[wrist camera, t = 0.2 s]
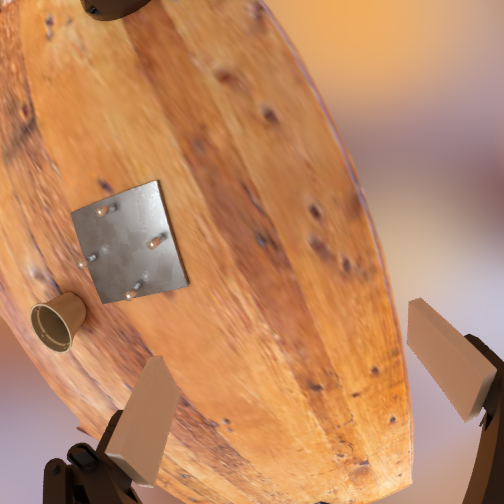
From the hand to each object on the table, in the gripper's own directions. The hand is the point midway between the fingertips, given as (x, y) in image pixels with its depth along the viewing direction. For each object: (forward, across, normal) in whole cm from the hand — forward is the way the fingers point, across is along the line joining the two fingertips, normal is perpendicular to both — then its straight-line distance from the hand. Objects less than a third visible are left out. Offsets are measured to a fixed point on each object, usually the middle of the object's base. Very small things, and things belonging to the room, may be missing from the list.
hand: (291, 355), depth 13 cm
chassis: (+28, -21, +3) cm, 35 cm away
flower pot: (+28, -37, -5) cm, 47 cm away
